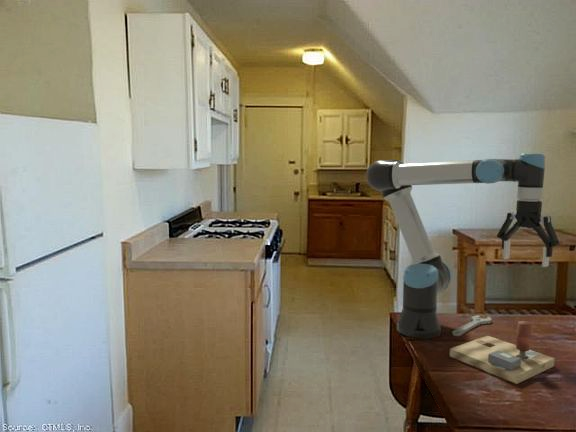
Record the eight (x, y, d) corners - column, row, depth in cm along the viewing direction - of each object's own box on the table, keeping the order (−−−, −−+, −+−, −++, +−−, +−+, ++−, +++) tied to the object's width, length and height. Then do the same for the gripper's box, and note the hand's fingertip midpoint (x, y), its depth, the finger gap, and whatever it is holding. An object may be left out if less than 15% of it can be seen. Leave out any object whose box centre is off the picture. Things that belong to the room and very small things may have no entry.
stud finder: (488, 361, 139) (488, 353, 139) (497, 357, 142) (498, 349, 142) (510, 370, 134) (511, 362, 133) (520, 366, 136) (521, 358, 136)
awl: (512, 364, 144) (515, 322, 142) (519, 361, 146) (522, 320, 144) (524, 368, 141) (527, 326, 139) (530, 365, 143) (533, 323, 141)
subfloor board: (449, 356, 149) (449, 348, 149) (487, 342, 160) (487, 335, 160) (516, 383, 131) (517, 374, 131) (553, 366, 142) (554, 358, 142)
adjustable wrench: (457, 338, 166) (458, 333, 165) (441, 333, 171) (441, 328, 170) (493, 322, 181) (493, 317, 181) (477, 318, 186) (478, 313, 186)
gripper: (574, 202, 150) (569, 268, 153) (501, 196, 171) (497, 254, 174) (562, 203, 146) (557, 271, 149) (488, 197, 167) (485, 257, 169)
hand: (525, 262), depth 161 cm, fingers open, 13 cm apart
